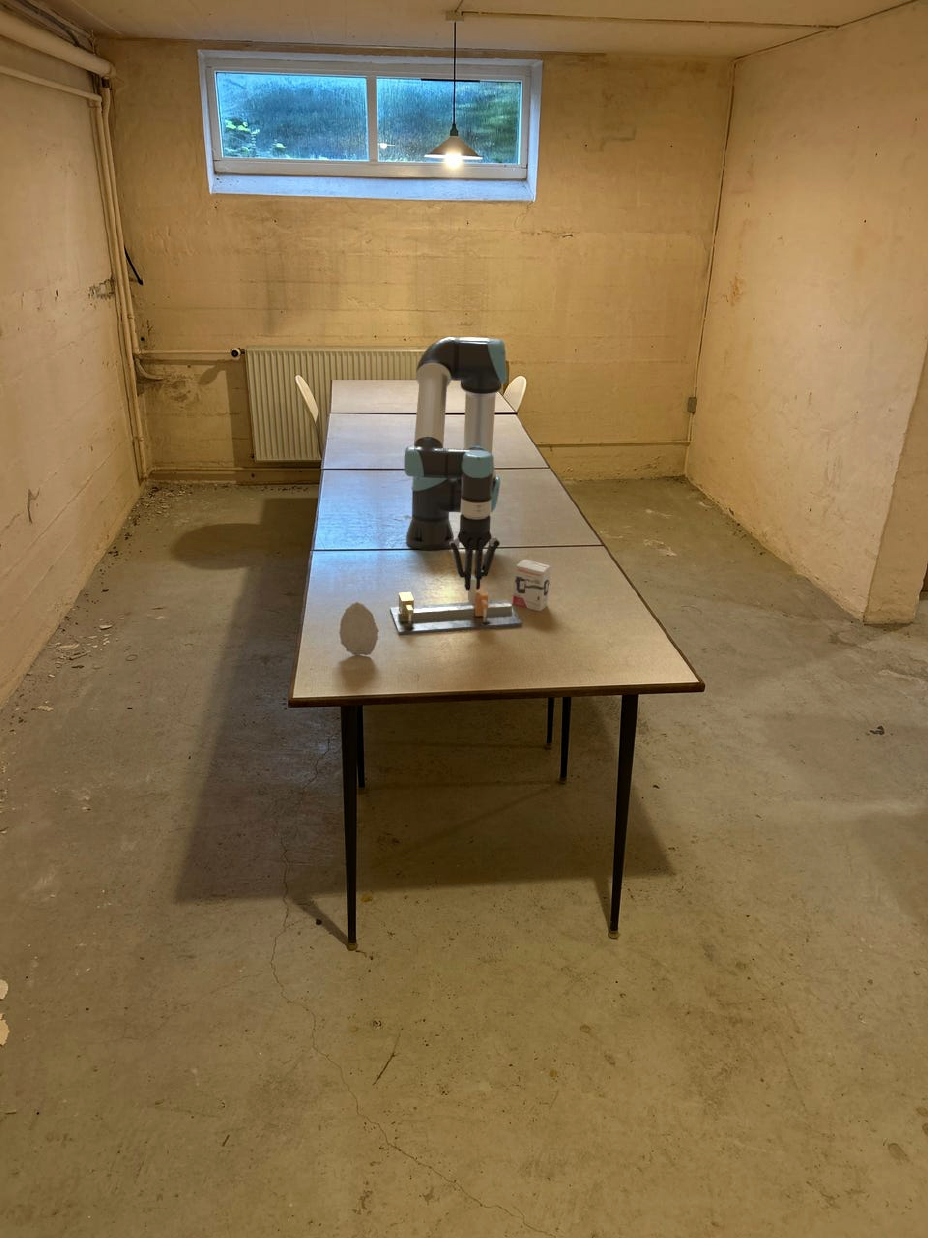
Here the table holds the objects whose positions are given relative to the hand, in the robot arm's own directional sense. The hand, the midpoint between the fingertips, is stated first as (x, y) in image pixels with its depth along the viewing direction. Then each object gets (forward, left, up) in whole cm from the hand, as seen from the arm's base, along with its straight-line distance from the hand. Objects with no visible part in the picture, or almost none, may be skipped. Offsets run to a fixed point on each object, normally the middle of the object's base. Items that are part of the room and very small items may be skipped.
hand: (471, 600), depth 220 cm
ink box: (-5, +18, -5) cm, 19 cm away
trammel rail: (+2, -4, -4) cm, 6 cm away
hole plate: (0, -4, -5) cm, 6 cm away
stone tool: (+16, -31, -5) cm, 35 cm away
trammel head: (+2, +2, -4) cm, 5 cm away
